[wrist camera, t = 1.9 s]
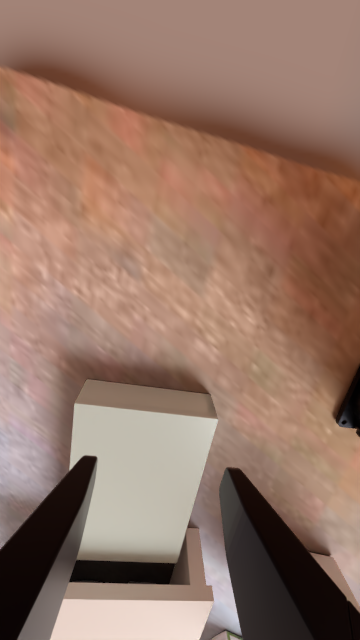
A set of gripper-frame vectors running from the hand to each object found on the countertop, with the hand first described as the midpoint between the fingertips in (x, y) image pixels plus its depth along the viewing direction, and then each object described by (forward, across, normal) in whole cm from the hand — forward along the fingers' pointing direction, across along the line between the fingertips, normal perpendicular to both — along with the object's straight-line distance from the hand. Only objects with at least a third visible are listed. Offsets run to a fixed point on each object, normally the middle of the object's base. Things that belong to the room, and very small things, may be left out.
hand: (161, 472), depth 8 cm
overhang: (+12, 0, +26) cm, 29 cm away
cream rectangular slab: (+12, 0, +13) cm, 18 cm away
